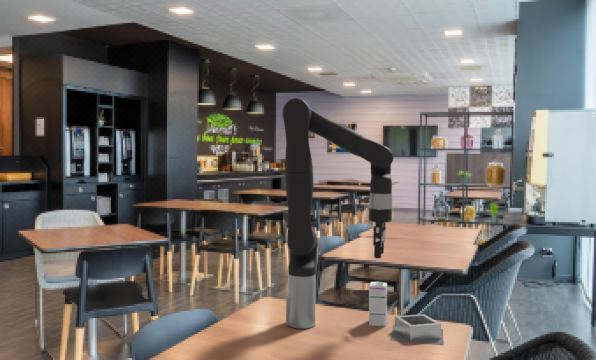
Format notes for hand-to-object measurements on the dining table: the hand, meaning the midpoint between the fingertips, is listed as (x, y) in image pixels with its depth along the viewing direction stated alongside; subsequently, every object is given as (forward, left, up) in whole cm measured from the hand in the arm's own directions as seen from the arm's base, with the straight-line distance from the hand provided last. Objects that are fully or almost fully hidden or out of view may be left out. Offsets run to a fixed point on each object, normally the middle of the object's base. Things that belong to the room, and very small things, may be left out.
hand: (378, 255), depth 174 cm
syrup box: (0, 0, -24) cm, 24 cm away
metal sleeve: (+13, -8, -23) cm, 27 cm away
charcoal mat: (+13, -8, -24) cm, 28 cm away
